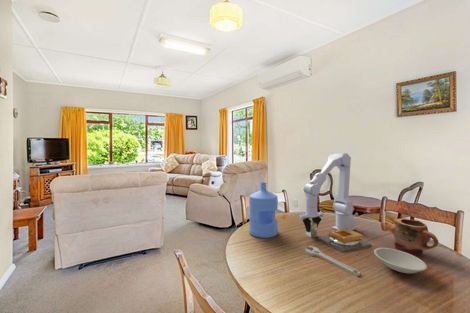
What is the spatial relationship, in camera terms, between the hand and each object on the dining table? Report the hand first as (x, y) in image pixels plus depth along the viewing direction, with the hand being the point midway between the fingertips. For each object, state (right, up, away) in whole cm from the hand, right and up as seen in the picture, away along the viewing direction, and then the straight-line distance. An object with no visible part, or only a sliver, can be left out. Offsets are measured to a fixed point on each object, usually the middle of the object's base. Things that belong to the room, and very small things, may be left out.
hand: (311, 231), depth 121 cm
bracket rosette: (+13, -3, -9) cm, 16 cm away
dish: (+22, -4, -34) cm, 41 cm away
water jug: (-25, -3, +4) cm, 26 cm away
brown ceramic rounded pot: (+38, -3, -21) cm, 43 cm away
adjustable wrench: (-2, -4, -27) cm, 27 cm away
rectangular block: (0, -2, 0) cm, 2 cm away
